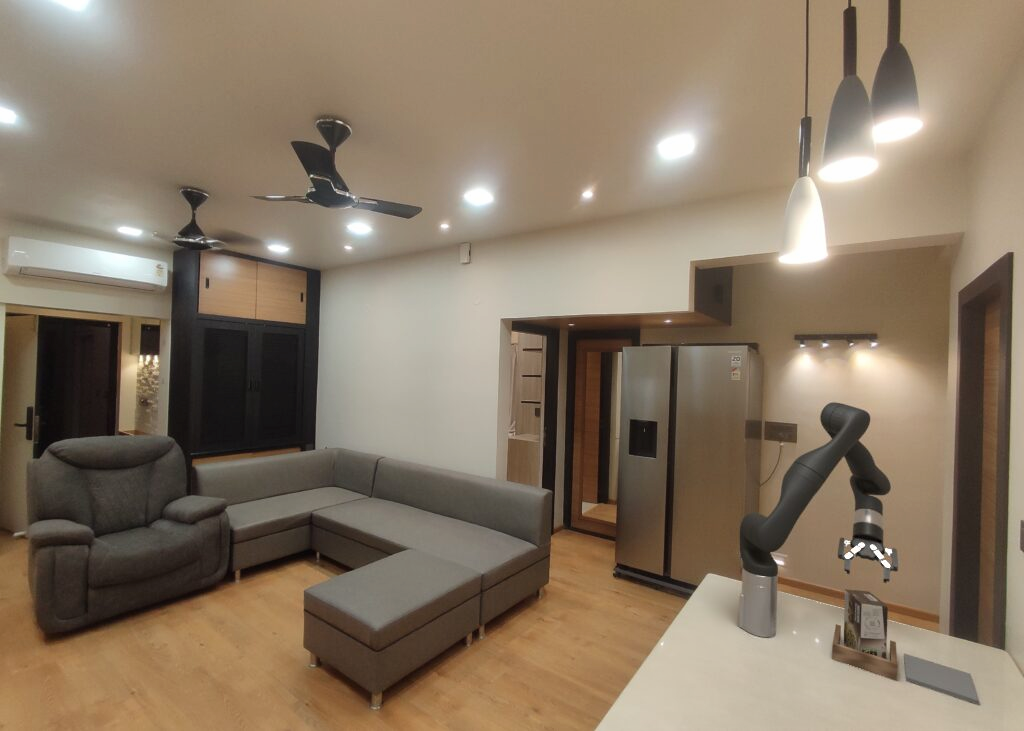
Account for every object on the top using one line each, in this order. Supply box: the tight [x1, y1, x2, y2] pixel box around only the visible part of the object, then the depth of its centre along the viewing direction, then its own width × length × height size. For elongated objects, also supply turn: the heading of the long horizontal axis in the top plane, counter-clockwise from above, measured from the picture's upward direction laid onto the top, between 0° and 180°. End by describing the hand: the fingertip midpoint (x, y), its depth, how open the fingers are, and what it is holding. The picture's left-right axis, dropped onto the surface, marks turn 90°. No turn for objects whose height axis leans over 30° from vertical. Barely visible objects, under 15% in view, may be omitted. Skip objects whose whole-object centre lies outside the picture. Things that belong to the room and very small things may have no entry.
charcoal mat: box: [903, 653, 980, 706], centre depth 118 cm, size 13×13×1 cm
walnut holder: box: [831, 623, 898, 682], centre depth 126 cm, size 13×13×4 cm
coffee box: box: [843, 588, 889, 659], centre depth 127 cm, size 9×6×16 cm
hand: (866, 577), depth 136 cm, fingers open, 8 cm apart
